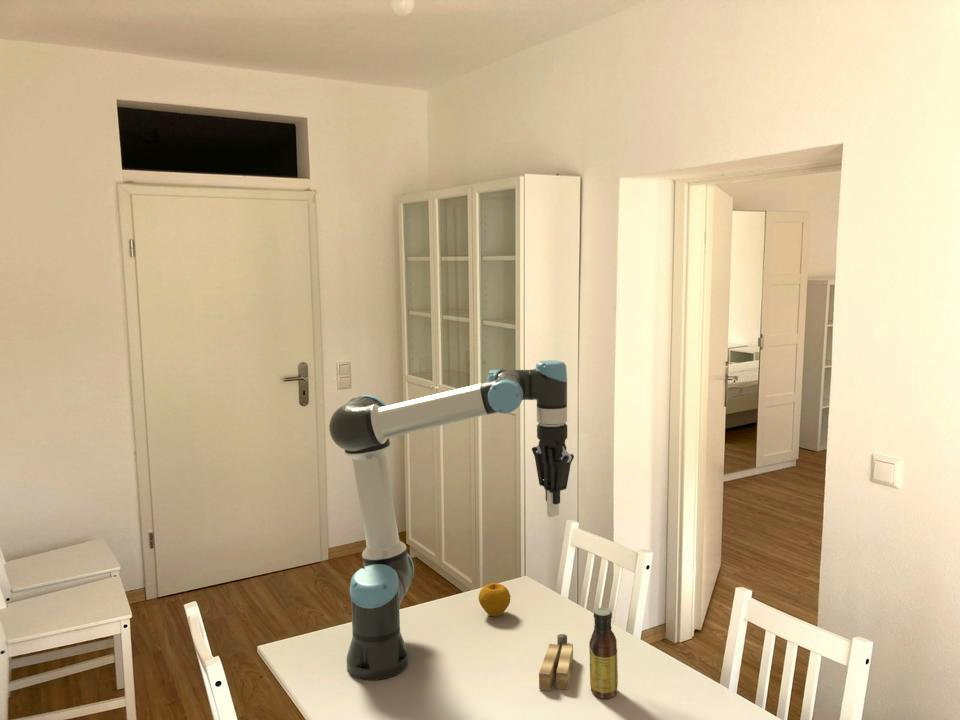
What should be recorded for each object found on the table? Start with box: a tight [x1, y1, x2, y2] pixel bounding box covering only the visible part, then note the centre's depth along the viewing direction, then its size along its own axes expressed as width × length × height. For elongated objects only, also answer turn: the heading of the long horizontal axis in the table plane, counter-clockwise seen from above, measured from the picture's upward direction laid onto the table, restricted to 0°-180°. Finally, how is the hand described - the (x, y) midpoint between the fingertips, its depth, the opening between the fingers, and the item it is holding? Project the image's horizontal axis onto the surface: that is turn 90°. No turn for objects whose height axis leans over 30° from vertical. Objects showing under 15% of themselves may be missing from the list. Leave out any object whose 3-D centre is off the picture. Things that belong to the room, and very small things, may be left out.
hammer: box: [555, 633, 574, 691], centre depth 187 cm, size 16×4×5 cm, turn 168°
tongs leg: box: [538, 643, 560, 692], centre depth 185 cm, size 14×2×4 cm, turn 165°
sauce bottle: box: [588, 606, 619, 699], centre depth 176 cm, size 6×6×20 cm
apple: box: [478, 582, 511, 618], centre depth 217 cm, size 9×9×9 cm
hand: (553, 515), depth 195 cm, fingers closed
